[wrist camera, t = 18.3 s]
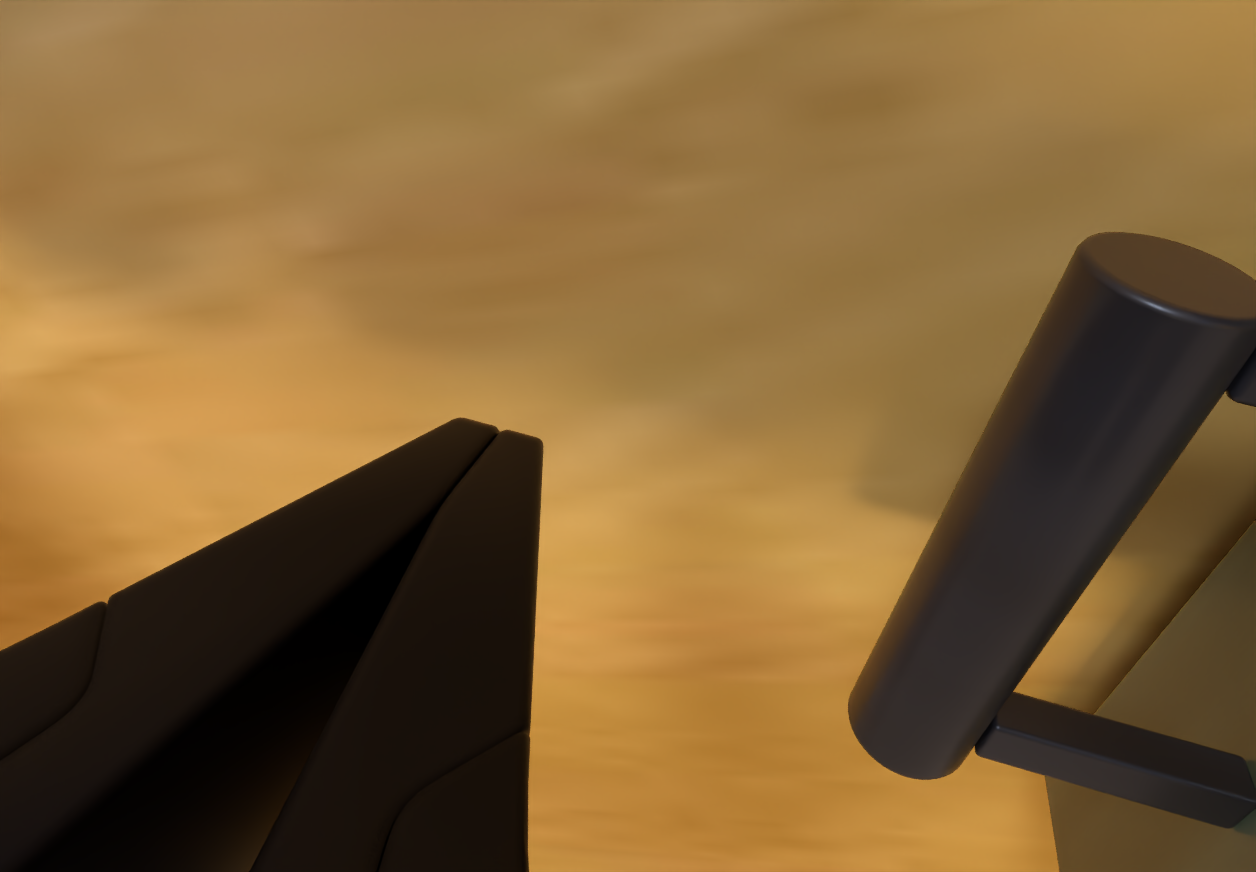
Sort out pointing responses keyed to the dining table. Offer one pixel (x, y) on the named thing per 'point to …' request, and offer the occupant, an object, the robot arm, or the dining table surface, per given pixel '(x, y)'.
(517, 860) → the robot arm
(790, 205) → the dining table surface
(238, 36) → the dining table surface
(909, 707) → the drawer
